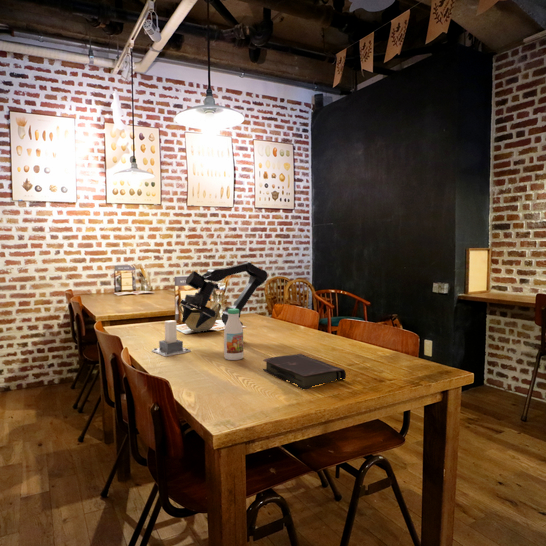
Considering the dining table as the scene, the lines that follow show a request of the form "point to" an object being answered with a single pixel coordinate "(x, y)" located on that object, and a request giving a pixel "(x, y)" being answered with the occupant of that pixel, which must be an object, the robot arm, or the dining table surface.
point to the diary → (303, 370)
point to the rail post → (170, 331)
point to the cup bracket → (170, 348)
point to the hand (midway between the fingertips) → (189, 324)
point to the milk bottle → (233, 336)
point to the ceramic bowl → (195, 316)
